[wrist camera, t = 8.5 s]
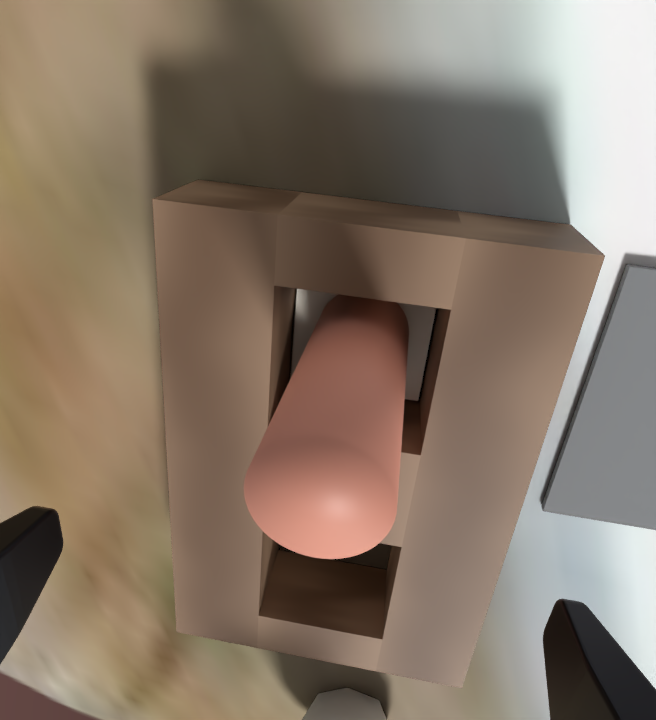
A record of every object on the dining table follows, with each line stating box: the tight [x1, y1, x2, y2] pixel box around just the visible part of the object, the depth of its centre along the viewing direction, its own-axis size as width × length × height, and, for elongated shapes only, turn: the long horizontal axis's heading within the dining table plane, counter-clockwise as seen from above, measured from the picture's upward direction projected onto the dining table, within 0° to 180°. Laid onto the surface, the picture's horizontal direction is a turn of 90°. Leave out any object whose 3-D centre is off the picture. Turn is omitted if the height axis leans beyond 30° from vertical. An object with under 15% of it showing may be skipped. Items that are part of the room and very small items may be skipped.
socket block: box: [152, 180, 605, 688], centre depth 20 cm, size 12×18×4 cm, turn 175°
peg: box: [244, 294, 409, 559], centre depth 15 cm, size 3×3×9 cm
